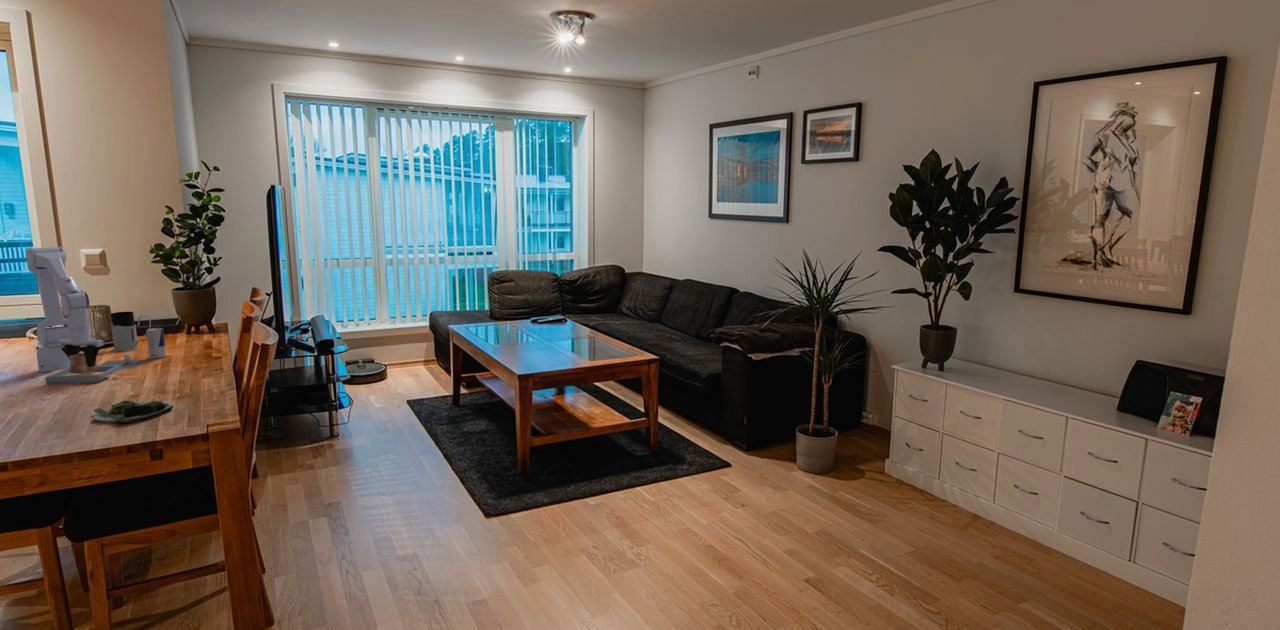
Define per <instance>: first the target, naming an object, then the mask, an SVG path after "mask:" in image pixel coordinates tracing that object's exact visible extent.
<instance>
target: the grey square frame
mask: <svg viewBox="0 0 1280 630" xmlns="http://www.w3.org/2000/svg"><path fill="white" fill-rule="evenodd" d="M122 370H123V369H122V367H121V365H113V366H98V365H97V370H96V371H95V372H101V373H98V374H87V375H86V374H77V375H68V374H72V373H71V367H68V368H63V369H62V370H60V371H57V372H55V373H52V374H50V375H47V376H45V377H44V379H45V385H46V384H49V385H68V384H69V383H73V384H90V383H91V384H92V383H95V382H98V383H103V382H105V381H107V380H109V379H111V378H110V377H111V375H113V374H115V373H118V372H119V371H122ZM108 378H109V379H108ZM104 380H105V381H104ZM69 385H70V384H69Z"/></svg>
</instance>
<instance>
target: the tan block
mask: <svg viewBox="0 0 1280 630" xmlns="http://www.w3.org/2000/svg"><path fill="white" fill-rule="evenodd" d="M69 360H70V367H71V373H70V374H77V375H86V374H89V373H92V372H97V371H96V370H97V366H98V365H97V361H96V362H95V366H92V367H88V365H87V361H86V357H85V354H84V352H79V354H76V355H72V356H69Z"/></svg>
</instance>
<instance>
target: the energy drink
mask: <svg viewBox="0 0 1280 630" xmlns="http://www.w3.org/2000/svg"><path fill="white" fill-rule="evenodd" d="M146 333H147V335H146V338H147V339H146V340H147V348H148V350H147V351H148V357H149V358H148V359H151V360H159V359H164V358H166V357H167V352H166V343H165V334H164V329H163V327H152V328H150V329H149V328H147V329H146ZM146 333H145V334H146Z"/></svg>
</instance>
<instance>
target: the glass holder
mask: <svg viewBox="0 0 1280 630" xmlns="http://www.w3.org/2000/svg"><path fill="white" fill-rule="evenodd" d="M142 317H146V318H147V319H148V322H149V327H148V329H151V326H152V320H151V318H150V317H149V316H148V315H140V316H139V317H138V319H137V325H136V322H135V314H134V311H117V312H111V313H110V325H111V335H112V342H113V349H112V351H113V352H116V351H123V352H129V351H128V350H132V351H136V350H135V349H137V350H139V349H140V347H139V342H140V341H141V340H142V339H143V338H144V337H147V333H145V334H144V335H143V336H142V337H140V338H139V339H138V336H137V327H138V326H140V322H141V321H140V319H141V318H142ZM138 348H139V349H138Z"/></svg>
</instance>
